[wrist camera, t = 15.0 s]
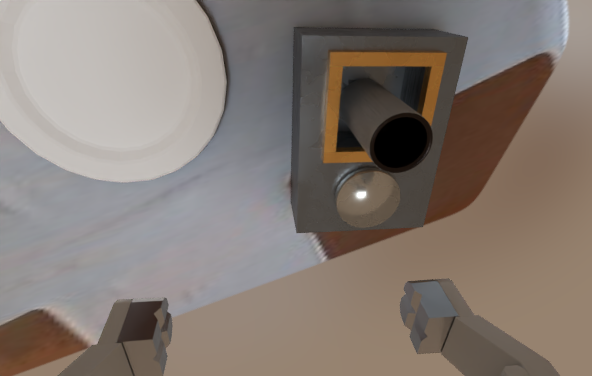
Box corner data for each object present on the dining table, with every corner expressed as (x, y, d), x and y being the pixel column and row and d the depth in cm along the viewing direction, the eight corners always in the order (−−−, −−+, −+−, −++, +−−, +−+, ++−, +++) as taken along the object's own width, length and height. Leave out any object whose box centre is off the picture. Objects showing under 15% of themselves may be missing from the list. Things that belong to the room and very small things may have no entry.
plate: (-18, 146, 34) (-31, 153, 33) (-36, -120, 25) (-54, -127, 24) (202, 195, 39) (200, 203, 38) (253, -10, 30) (253, -10, 29)
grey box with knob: (293, 27, 32) (304, 37, 26) (434, 29, 33) (475, 39, 27) (290, 201, 40) (297, 239, 34) (401, 196, 42) (427, 232, 36)
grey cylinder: (393, 88, 33) (446, 126, 24) (370, 132, 35) (412, 181, 26) (351, 70, 32) (390, 102, 23) (329, 116, 34) (358, 162, 25)
